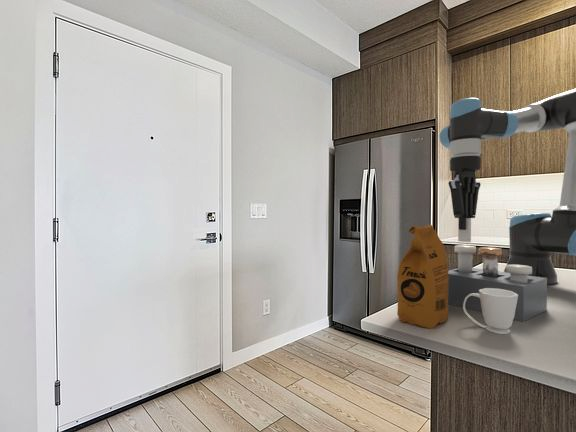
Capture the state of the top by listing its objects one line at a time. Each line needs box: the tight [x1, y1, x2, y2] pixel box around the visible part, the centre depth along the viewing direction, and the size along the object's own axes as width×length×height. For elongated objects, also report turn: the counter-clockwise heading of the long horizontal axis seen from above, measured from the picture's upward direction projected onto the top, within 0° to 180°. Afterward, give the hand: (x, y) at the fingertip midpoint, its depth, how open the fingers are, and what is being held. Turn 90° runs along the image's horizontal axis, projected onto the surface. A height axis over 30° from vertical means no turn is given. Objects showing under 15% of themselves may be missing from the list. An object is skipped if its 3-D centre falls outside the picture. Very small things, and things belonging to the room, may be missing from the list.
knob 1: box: [454, 244, 477, 274], centre depth 90 cm, size 5×5×8 cm
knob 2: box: [505, 264, 532, 283], centre depth 79 cm, size 5×5×8 cm
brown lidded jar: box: [478, 247, 503, 278], centre depth 85 cm, size 5×5×8 cm
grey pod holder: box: [448, 267, 548, 322], centre depth 85 cm, size 14×20×8 cm
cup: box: [462, 288, 518, 335], centre depth 69 cm, size 7×10×8 cm
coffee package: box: [396, 223, 450, 330], centre depth 75 cm, size 10×12×22 cm
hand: (464, 241), depth 90 cm, fingers closed
